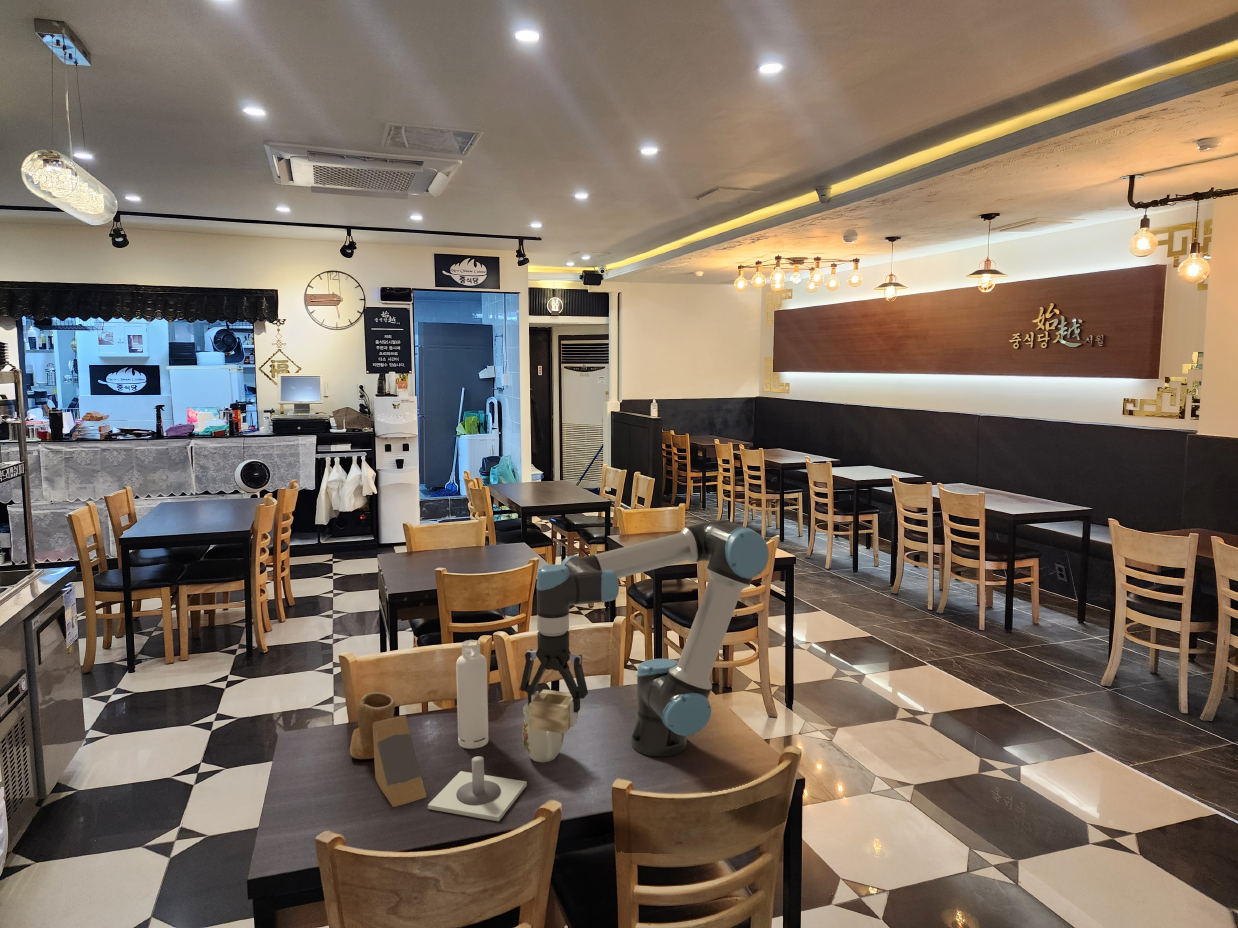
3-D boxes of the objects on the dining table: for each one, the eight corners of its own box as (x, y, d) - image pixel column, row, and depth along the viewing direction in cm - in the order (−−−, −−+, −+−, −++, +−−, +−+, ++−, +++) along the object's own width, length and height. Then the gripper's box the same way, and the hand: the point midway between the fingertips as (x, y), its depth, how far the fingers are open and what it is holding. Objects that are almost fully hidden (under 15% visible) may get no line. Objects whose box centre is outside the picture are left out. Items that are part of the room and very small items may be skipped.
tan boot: (395, 759, 206) (393, 704, 204) (347, 764, 203) (345, 709, 202) (398, 733, 221) (396, 682, 219) (353, 737, 218) (351, 686, 216)
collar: (578, 717, 192) (578, 693, 191) (565, 733, 183) (565, 708, 182) (543, 712, 194) (543, 689, 193) (529, 728, 186) (529, 704, 185)
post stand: (526, 785, 193) (526, 748, 192) (498, 821, 178) (498, 781, 177) (460, 774, 198) (459, 738, 197) (427, 808, 183) (426, 770, 182)
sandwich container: (392, 808, 184) (389, 747, 182) (374, 779, 196) (371, 722, 195) (428, 797, 188) (426, 737, 186) (408, 769, 201) (406, 713, 199)
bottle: (491, 735, 219) (489, 638, 216) (483, 749, 211) (481, 648, 208) (463, 733, 220) (460, 637, 217) (454, 747, 212) (451, 647, 209)
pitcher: (529, 777, 197) (528, 725, 195) (518, 744, 214) (517, 696, 212) (572, 771, 200) (571, 719, 198) (557, 739, 217) (557, 691, 215)
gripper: (601, 630, 186) (602, 720, 189) (517, 621, 192) (518, 709, 195) (592, 640, 179) (592, 734, 182) (504, 631, 185) (505, 722, 188)
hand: (554, 721), depth 189 cm, fingers closed on collar, 9 cm apart
